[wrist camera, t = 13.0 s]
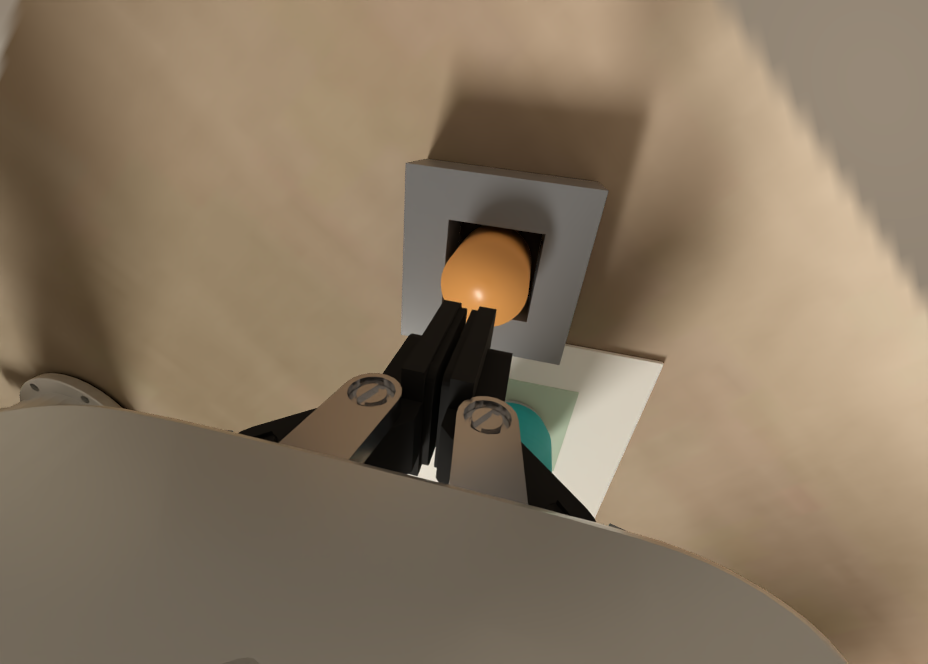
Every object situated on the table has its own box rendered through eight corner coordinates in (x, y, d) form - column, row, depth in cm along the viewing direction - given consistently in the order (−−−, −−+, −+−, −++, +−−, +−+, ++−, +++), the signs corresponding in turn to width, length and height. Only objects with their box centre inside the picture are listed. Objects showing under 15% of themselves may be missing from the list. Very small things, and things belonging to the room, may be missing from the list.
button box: (419, 309, 24) (401, 334, 21) (427, 158, 20) (405, 162, 17) (557, 335, 23) (559, 365, 20) (598, 181, 19) (608, 190, 16)
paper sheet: (404, 493, 33) (402, 496, 33) (411, 314, 24) (409, 317, 24) (584, 537, 31) (584, 541, 31) (662, 361, 23) (664, 365, 22)
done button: (455, 289, 21) (437, 318, 18) (462, 218, 19) (444, 236, 16) (523, 301, 21) (519, 334, 17) (538, 230, 19) (537, 251, 15)
